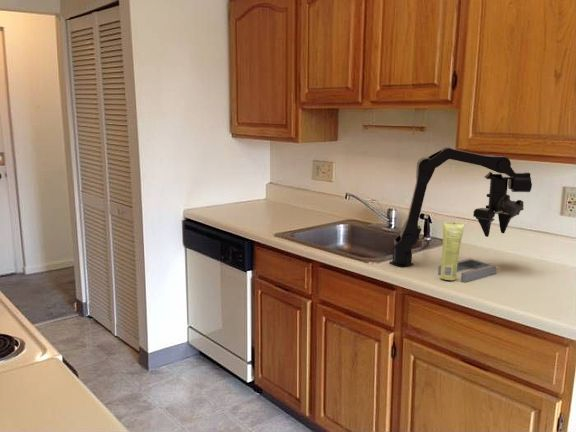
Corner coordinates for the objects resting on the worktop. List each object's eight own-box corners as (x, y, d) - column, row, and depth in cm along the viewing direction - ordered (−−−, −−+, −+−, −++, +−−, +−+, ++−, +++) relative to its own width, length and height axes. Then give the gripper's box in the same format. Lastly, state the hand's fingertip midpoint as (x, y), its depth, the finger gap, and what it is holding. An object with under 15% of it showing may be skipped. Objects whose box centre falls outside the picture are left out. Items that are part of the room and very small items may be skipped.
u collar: (438, 274, 184) (438, 265, 184) (469, 266, 194) (470, 258, 194) (464, 282, 176) (465, 274, 175) (496, 273, 185) (496, 265, 185)
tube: (445, 275, 183) (450, 220, 180) (459, 279, 179) (464, 222, 176) (437, 278, 178) (442, 221, 176) (451, 281, 175) (457, 223, 172)
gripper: (502, 197, 174) (498, 243, 177) (534, 192, 184) (531, 235, 187) (473, 192, 183) (470, 236, 186) (506, 188, 193) (503, 229, 197)
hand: (494, 234), depth 189 cm, fingers open, 9 cm apart
